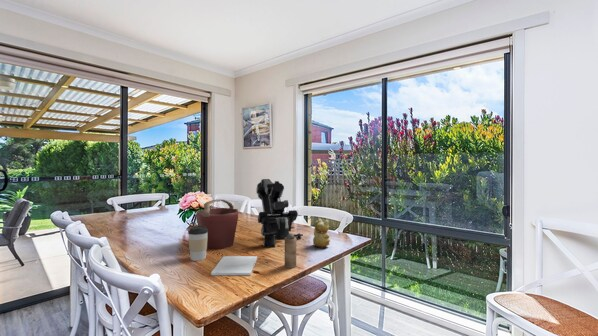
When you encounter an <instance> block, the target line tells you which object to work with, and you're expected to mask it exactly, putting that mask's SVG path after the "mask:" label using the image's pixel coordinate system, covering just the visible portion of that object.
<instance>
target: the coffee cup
mask: <svg viewBox="0 0 598 336" xmlns="http://www.w3.org/2000/svg"><path fill="white" fill-rule="evenodd" d="M187 234H188V249H189V250H188V251H189V257H190V260H191V261H193V262H194V261H195V262H198V261H203V260H205V259H206V258H207V250H208V249H207V239H208V236H207V234H208V229H207V228H206V227H204V226H198V225H197V226H191V227H190V229H189V230H187Z"/></svg>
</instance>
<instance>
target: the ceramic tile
mask: <svg viewBox="0 0 598 336" xmlns="http://www.w3.org/2000/svg"><path fill="white" fill-rule="evenodd" d="M257 260H258V256H257V255H247V256H246V255H238V256H237V255H228V256H226V255H223V256H222V258H220V260H219V262H218V263H217V264H216V265H215V267H214V268H213V269H212V270H211V272H210V276H251V275H252V273H253V271H254V268H255V265H256V262H257Z"/></svg>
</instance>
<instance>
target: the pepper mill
mask: <svg viewBox="0 0 598 336" xmlns="http://www.w3.org/2000/svg"><path fill="white" fill-rule="evenodd" d="M294 235H295V234H293V233H289V234H288V235H287V237H285V239H284V268H286V269H294V268H296V267H297V237H294Z"/></svg>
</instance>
